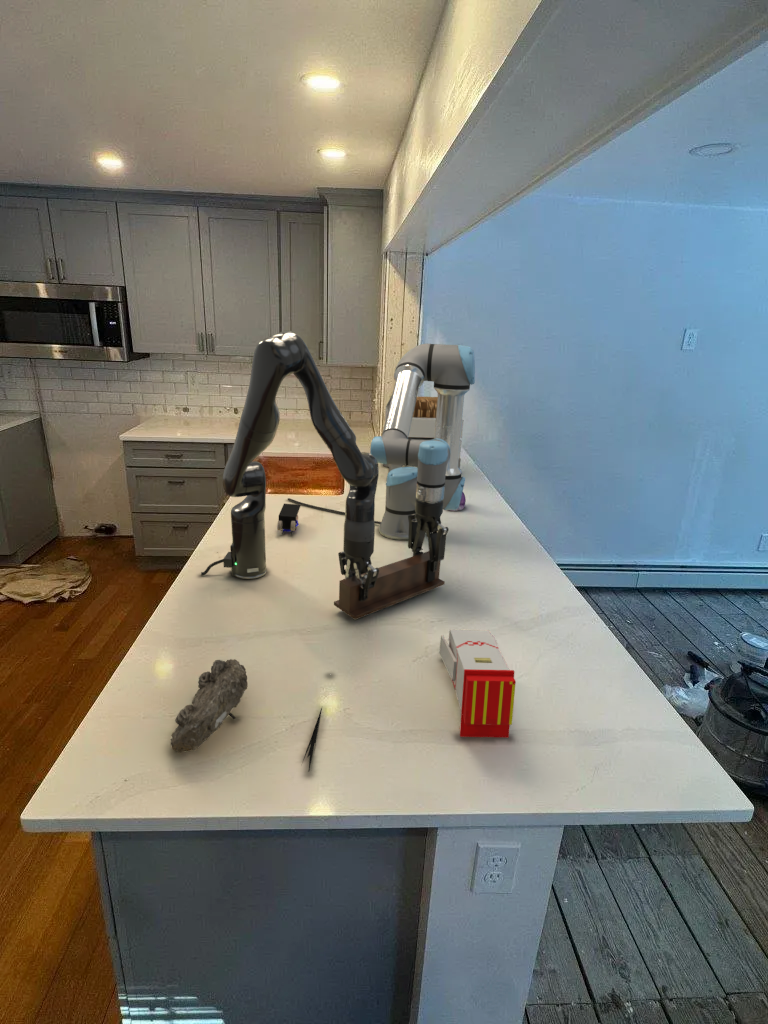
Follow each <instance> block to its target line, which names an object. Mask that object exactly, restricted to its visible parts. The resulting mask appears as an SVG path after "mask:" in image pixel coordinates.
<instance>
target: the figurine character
mask: <svg viewBox="0 0 768 1024" xmlns="http://www.w3.org/2000/svg"><path fill="white" fill-rule="evenodd" d="M300 509H301V504H298V503H283V505H282V507H281V509H280V512H279V514H278V521H277V526H276V529H277V531H278V532H281V535H283V536H284V535H285V532H287V533H289V532H290V533H289V535H290V536H293V533H294V532H295V531H297V527H299V526H300V523H299V514H298V513H299V512H300Z"/></svg>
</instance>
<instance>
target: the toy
mask: <svg viewBox="0 0 768 1024" xmlns="http://www.w3.org/2000/svg"><path fill="white" fill-rule="evenodd" d="M438 654H439V656H440V658H441V660H442V662H443V665H444V666H445V668H446V671H447V673H448V675H449V677H450V681H451V683H452V685H453V689H454V690H455V695H456V698H457V702H458V705H459V708H460V726H459V737H460V738H509V737H510V728H511V727H510V726H512V725H513V717H514V706H515V705H514V704H515V693H516V684H517V683H516V679H515V670H514V669H510V667H509V666H508V663H507V662H506V660H505V658H504V655H503V654H502V652H501V650H500V648H499V644H498V642H497V638H496V635H495V634H492V632H491V631H490V629H467V628H466V629H465V628H463V629H461V628H460V629H459V628H450V629H449V631H448V641H447V639H446V638H445V636H444V634H443V635H442V634H441V635H440V641H439V651H438Z"/></svg>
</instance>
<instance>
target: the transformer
mask: <svg viewBox="0 0 768 1024" xmlns="http://www.w3.org/2000/svg"><path fill="white" fill-rule="evenodd" d="M391 397H392V395H390V398H389V400H388V402H387V403H386V405H385V413H384V414H385V416H384V422H385V421H386V417H387V413H388V409H389V405H390V401H391ZM437 397H438V396H417V399H416V404H415V408H414V413H413V418H412V422H411V427H410V431H409V436H408V439H413V440H425V441H430V440H432V439H434V436H435V423H436V410H437ZM463 431H464V419H463V418H462V426H461V437H460V448H459V459H458V468H459V469H460V470H461V462H462V458H461V452H462V443H463V442H462V438H463ZM382 465H383V467H386V468H388V473H389V472H390V471H391V470H393V469H396V468H400V467H405V465H392V464H382Z"/></svg>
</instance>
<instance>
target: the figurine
mask: <svg viewBox="0 0 768 1024" xmlns="http://www.w3.org/2000/svg"><path fill="white" fill-rule="evenodd" d="M466 503H467V502H466V496H465V492H464V491H463V492H462V496H461V500H460V505H459V507H458V509H456V510H450V511H451V512H452V511H453V512H457V511H462V510H463V509H465V505H466Z"/></svg>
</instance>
